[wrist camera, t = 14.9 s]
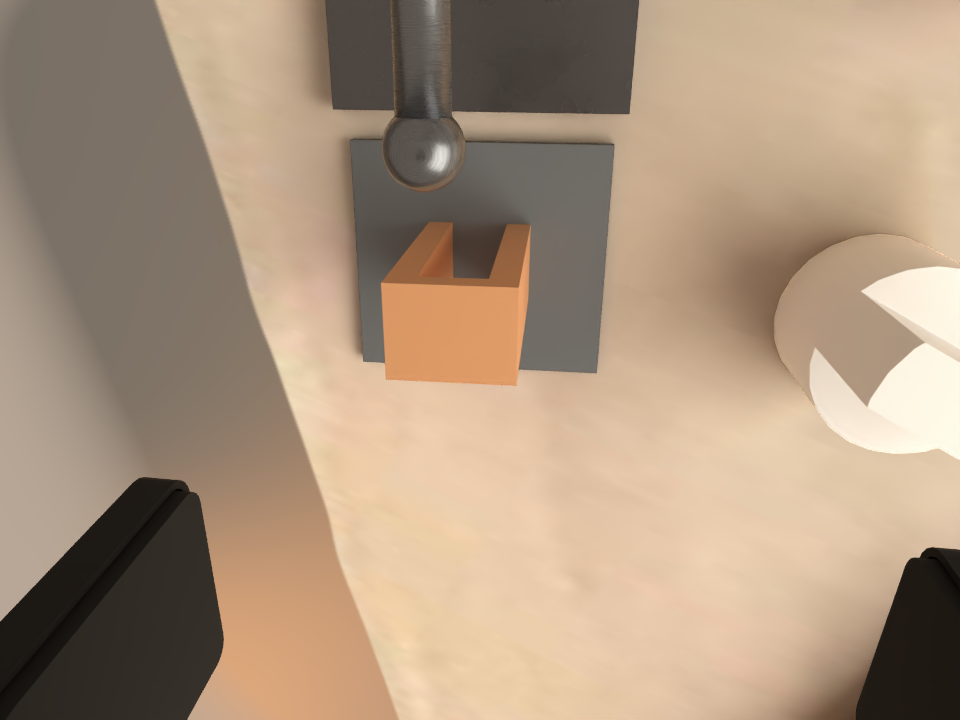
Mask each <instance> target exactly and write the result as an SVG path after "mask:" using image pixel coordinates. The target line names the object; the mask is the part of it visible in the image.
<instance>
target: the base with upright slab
mask: <svg viewBox="0 0 960 720" xmlns="http://www.w3.org/2000/svg"><path fill="white" fill-rule="evenodd" d="M774 341H775V344H776V347H777V350H778V353H779V356H780V359H781V360H782V362H783V363H784V365H785V366H786V367H787V369H788V370H789V372H790V373H791V374H792V376H793V377H794V379H795V380H796V381H797V383H798V384H799V386H800V387H801V388H802V390H803V391H804V393H805V394H806V395H807V397H808V398H809V400H810V401H811V402H812V404H813V405H814V407H815V408H816V409H817V411H818V412H819V414H820V415H821V416H822V418H823V419H824V420H825V422H826V423H827V425H828V426H829V427H830V428H831V429H832V430H834V431H835V432H836V433H838V434H839V435H840V436H841V437H843V438H844V439H845V440H847V441H848V442H851V443H853V444H856V445H858V446H861V447H863V448H866V449H868V450H871V451H878V452H885V453H893V454H903V453H915V452H925V451H928V450H932V449H935V448H939V449H941V450H943V451H944V452H946V453H948V454H950V455H951V456H953V457H955V458H957V459H958V460H960V263H959V262H957V261H955V260H953V259H951V258H949V257H947V256H945V255H943V254H941V253H940V252H938V251H936V250H934V249H932V248H930V247H928V246H926V245H924V244H922V243H919V242H917V241H914V240H912V239H909V238H907V237H905V236H896V235H888V234H873V235H865V236H857V237H853V238H850V239H848V240H845V241H842V242H839V243H837V244H834V245H831V246H829V247H828V248H826V249H825V250H823V251H822V252H820V253H819V254H817V255H816V256H814V257H812V258H811V259H809V260H808V261H807V262H806V263H805V264H804V265H803V267H802V268H801V269H800V270H799V271H798V272H797V273H796V274H795V275H794V276H793V277H792V278H791V280H790V281H789V283H788V285H787V287H786V288H785V290H784V292H783V293H782V295H781V297H780V299H779V303H778V306H777V310H776V313H775V317H774Z"/></svg>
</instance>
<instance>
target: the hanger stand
mask: <svg viewBox="0 0 960 720" xmlns="http://www.w3.org/2000/svg"><path fill="white" fill-rule="evenodd" d="M638 6H639V0H326V15H327V29H328V44H329V59H330V73H331V88H332V103H333V109H343V110H394V111H395V117H394V118H393V119H392V120H391V121H390V122H389V124H388V126H387V127H386V130H385V132H384V135H383V140H382V156H383V161H384V163H385V166H386V168H387V170H388V172H389V173H390V175H391V176H392V177H393V178H394V179H395V180H396V181H397V182H398V183H399V184H400V185H402V186H403V187H405V188H407V189H410V190H412V191H417V192H433V191H437V190H440V189H442V188H444V187H446V186H447V185H449V184H450V183H451V182H452V181H453V180H454V179H455V178H456V177H457V176H458V174H459V173H460V171H461V169H462V167H463V164H464V161H465V156H466V143H465V138H464V135H463V132H462V130H461V128H460V126H459V125H458V123H457V122H456V121H455V119H454V118H453V117H452V111H465V112H526V113H587V114H629V113H630V101H631V89H632V77H633V66H634V54H635V42H636V30H637V18H638Z"/></svg>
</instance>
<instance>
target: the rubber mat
mask: <svg viewBox="0 0 960 720" xmlns="http://www.w3.org/2000/svg"><path fill="white" fill-rule="evenodd" d="M382 140H383V139H351V140H350V145H351V162H352V179H353V195H354V212H355V229H356V245H357V262H358V279H359V295H360V312H361V329H362V345H363V362H381V363H385V350H384V331H383V312H382V292H381V282H382V281H383V280H384V279H385V277H386V276H387V275H388V274H389V272H390V271H391V270H392V268H393V267H394V266H395V265H396V263H397V262H398V261H399V260H400V258H401V257H402V256H403V255H404V253H405V252H406V251H407V249H408V248H409V247H410V246H411V244H412V243H413V242H414V241H415V239H416V238H417V237H418V236H419V234H420V233H421V232H422V231H423V229H424V228H425V227H426V225H427V224H428V223H429V222H453V278H476V279H489V278H490V275H491V271H492V268H493V265H494V262H495V259H496V256H497V253H498V250H499V247H500V244H501V241H502V238H503V235H504V232H505V229H506V226H507V224H531V230H530V262H529V294H528V305H527V313H526V320H525V327H524V334H523V341H522V348H521V355H520V363H519V369H521V370H542V371H562V372H582V373H597V363H598V350H599V337H600V324H601V312H602V299H603V286H604V273H605V260H606V248H607V235H608V222H609V209H610V196H611V184H612V171H613V158H614V144H589V143H540V142H490V141H465V143H466V156H465V161H464V164H463V167H462V169H461V171H460V173H459V174H458V176H457V177H456V178H455V179H454V180H453V181H452V182H451V183H450V184H449V185H447V186H446V187H444V188H442V189H440V190H437V191H433V192H417V191H412V190H410V189H407V188H405V187H403V186H402V185H400V184H399V183H398V182H397V181H396V180H395V179H394V178H393V177H392V176H391V175H390V173H389V172H388V170H387V168H386V166H385V163H384V161H383V156H382Z"/></svg>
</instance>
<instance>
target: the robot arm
mask: <svg viewBox="0 0 960 720" xmlns="http://www.w3.org/2000/svg"><path fill="white" fill-rule="evenodd" d="M223 638H224V637H223V630H222V624H221V618H220V612H219V607H218V601H217V595H216V589H215V583H214V577H213V572H212V566H211V560H210V554H209V548H208V543H207V537H206V531H205V525H204V520H203V514H202V508H201V502H200V499H199V496H198V495H197V494H196V493H194V492H190V491H189V488H188V486H187V485H186V483H185V482H183V481H181V480H170V479H158V478H148V477H147V478H146V477H143V478H139V479H137V480H136V481H135V482H133V483H132V484H131V485H130V486H129V487H128V489H127V490H126V491H125V492H124V493H123V494H122V495H121V496H120V497H119V498H118V499H117V500H116V501H115V502H114V503H113V504H112V505H111V506H110V507H109V508H108V509H107V511H106V512H105V513H104V514H103V515H102V516H101V517H100V518H99V519H98V520H97V521H96V522H95V523H94V524H93V525H92V526H91V527H90V528H89V529H88V530H87V532H85V534H84V535H83V536H82V537H81V538H80V539H79V540H78V541H77V542H76V543H75V544H74V545H73V546H72V547H71V548H70V549H69V550H68V551H67V552H66V554H64V556H63V557H62V558H61V559H60V560H59V561H58V562H57V563H56V564H55V565H54V566H53V567H52V568H51V569H50V570H49V571H48V572H47V573H46V575H44V576H43V578H42V579H41V580H40V581H39V582H38V583H37V584H36V585H35V586H34V587H33V588H32V589H31V590H30V591H29V592H28V593H27V594H26V595H25V596H24V597H23V598H22V600H21V601H20V602H19V603H18V604H17V605H16V606H15V607H14V608H13V609H12V610H11V611H10V612H9V613H8V614H7V615H6V616H5V617H4V618H3V620H2V621H0V720H187V719H188V717H189V715H190V713H191V711H192V709H193V708H194V706H195V704H196V702H197V700H198V698H199V697H200V695H201V693H202V691H203V690H204V688H205V686H206V684H207V682H208V681H209V679H210V677H211V675H212V673H213V672H214V670H215V668H216V666H217V664H218V662H219V660H220V657H221V653H222V649H223V641H224V639H223ZM856 720H960V550H957V549H945V548H934V547H932V548H927V549H926V550H925V551H924V552H922V554H921V556H920V558H911V559H910V560H909V561H908V562H907V564H906V566H905V569H904V571H903V574H902V577H901V580H900V583H899V586H898V589H897V592H896V594H895V597H894V600H893V603H892V606H891V609H890V612H889V615H888V617H887V620H886V623H885V626H884V629H883V632H882V635H881V638H880V640H879V643H878V646H877V649H876V652H875V655H874V658H873V661H872V663H871V666H870V669H869V672H868V675H867V678H866V681H865V683H864V686H863V689H862V692H861V695H860V698H859V701H858V704H857V708H856Z"/></svg>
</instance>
